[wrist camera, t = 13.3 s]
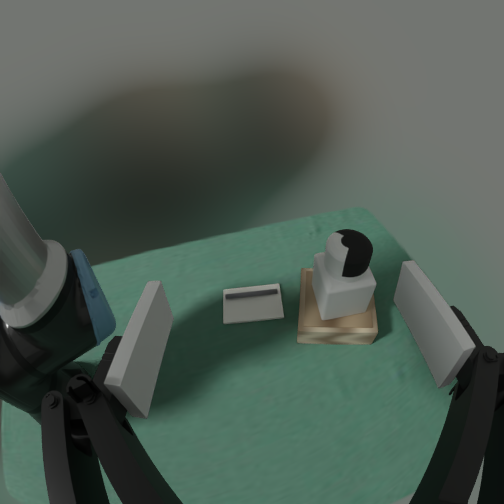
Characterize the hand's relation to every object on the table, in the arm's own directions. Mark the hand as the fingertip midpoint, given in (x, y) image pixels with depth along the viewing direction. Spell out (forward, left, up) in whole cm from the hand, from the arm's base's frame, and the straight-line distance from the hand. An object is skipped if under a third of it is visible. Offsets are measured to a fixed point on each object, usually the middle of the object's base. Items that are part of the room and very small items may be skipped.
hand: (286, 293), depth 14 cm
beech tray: (+7, +16, -28) cm, 33 cm away
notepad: (-7, +17, -28) cm, 34 cm away
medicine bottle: (+7, +16, -24) cm, 29 cm away
